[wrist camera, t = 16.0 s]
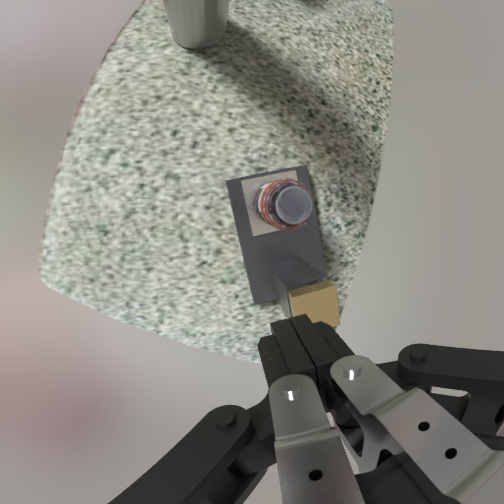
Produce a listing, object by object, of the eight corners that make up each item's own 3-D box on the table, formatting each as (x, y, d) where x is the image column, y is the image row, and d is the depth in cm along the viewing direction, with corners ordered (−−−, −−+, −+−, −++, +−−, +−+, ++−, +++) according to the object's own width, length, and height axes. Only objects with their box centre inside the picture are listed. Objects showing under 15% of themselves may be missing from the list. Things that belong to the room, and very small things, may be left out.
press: (225, 181, 39) (228, 175, 27) (302, 166, 40) (333, 156, 28) (252, 300, 43) (265, 336, 32) (322, 281, 44) (355, 309, 33)
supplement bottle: (300, 192, 38) (331, 192, 27) (283, 230, 39) (308, 244, 28) (263, 174, 37) (281, 166, 26) (245, 213, 38) (256, 220, 27)
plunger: (271, 267, 39) (292, 297, 28) (303, 259, 40) (336, 285, 28) (277, 298, 41) (299, 337, 29) (308, 290, 41) (340, 324, 29)
